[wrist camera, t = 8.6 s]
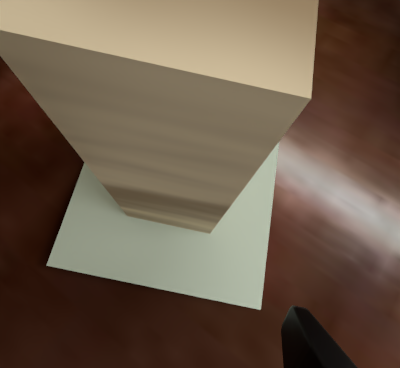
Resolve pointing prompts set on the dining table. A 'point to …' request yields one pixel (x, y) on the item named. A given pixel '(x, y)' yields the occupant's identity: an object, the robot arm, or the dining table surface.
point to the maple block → (166, 92)
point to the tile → (171, 243)
